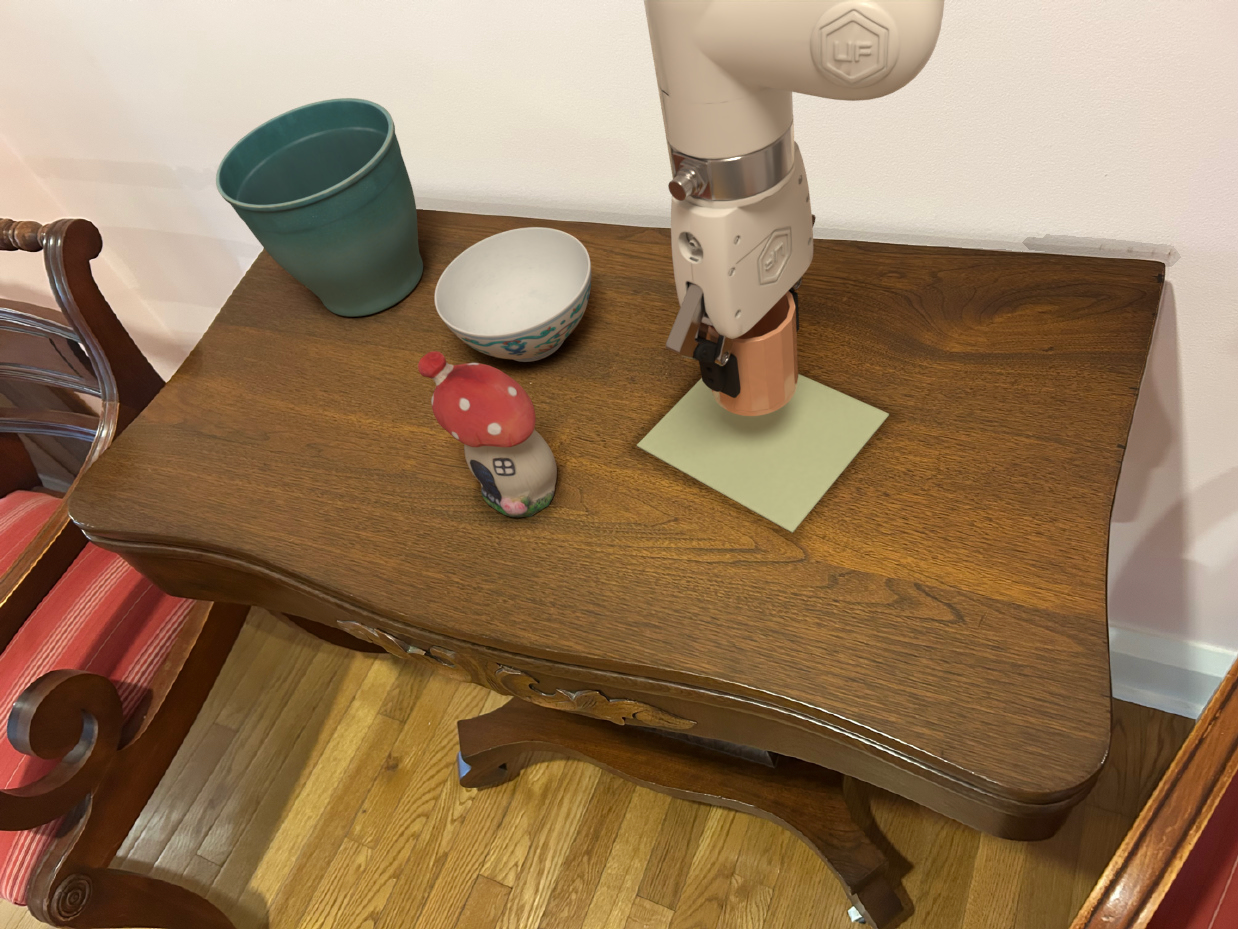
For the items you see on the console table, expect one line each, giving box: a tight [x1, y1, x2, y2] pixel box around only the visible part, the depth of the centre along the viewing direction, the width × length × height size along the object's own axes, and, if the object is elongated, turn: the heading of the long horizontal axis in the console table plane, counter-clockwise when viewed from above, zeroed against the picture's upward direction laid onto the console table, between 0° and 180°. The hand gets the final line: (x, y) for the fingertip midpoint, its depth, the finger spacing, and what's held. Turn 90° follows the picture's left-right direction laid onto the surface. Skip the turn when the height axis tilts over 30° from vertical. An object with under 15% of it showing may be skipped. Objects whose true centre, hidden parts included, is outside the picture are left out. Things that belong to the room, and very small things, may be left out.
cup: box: [706, 291, 799, 416], centre depth 65 cm, size 7×7×8 cm
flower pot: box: [215, 97, 424, 318], centre depth 89 cm, size 18×18×17 cm
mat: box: [636, 373, 890, 534], centre depth 72 cm, size 16×14×1 cm
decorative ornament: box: [417, 350, 558, 518], centre depth 68 cm, size 9×7×15 cm
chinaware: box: [434, 226, 592, 363], centre depth 82 cm, size 15×15×8 cm
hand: (751, 355), depth 65 cm, fingers closed on cup, 6 cm apart
